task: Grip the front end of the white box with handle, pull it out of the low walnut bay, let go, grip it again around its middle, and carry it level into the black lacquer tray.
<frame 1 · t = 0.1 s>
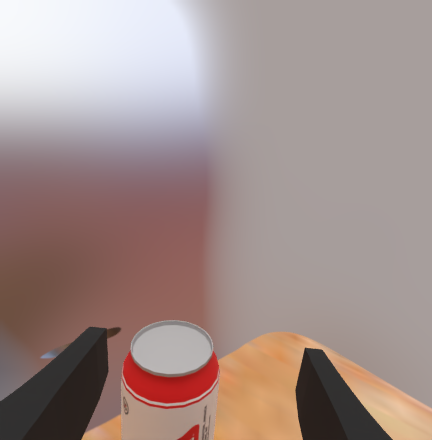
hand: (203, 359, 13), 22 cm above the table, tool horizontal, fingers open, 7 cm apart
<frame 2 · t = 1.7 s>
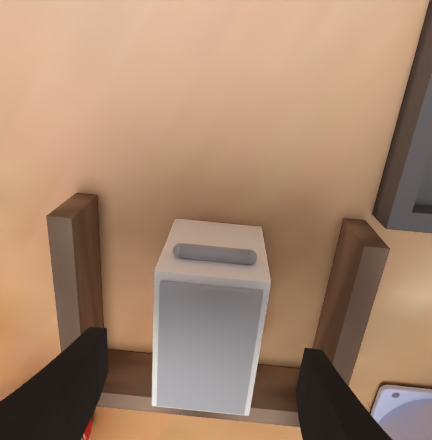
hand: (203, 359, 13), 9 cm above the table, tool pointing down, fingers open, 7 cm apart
bay: (212, 290, 22), on the table
white box with handle: (213, 280, 22), on the table
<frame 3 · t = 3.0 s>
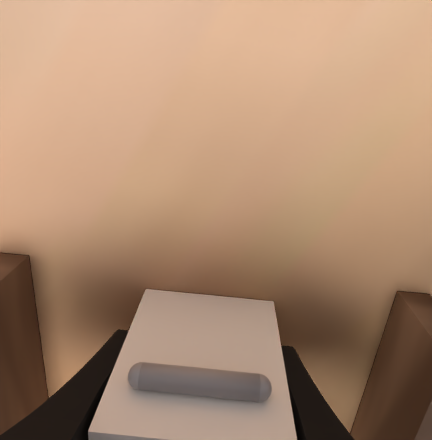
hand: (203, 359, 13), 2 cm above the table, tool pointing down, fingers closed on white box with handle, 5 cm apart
bay: (202, 383, 16), on the table
white box with handle: (202, 372, 16), on the table, touching gripper
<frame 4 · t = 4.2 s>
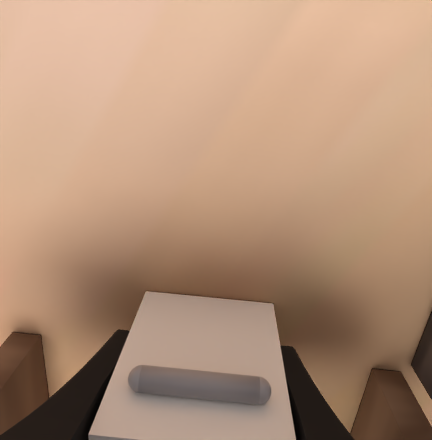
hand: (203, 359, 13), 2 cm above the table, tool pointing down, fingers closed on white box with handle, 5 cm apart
white box with handle: (202, 374, 16), on the table, touching gripper
when the fingers open (2 cm above the table, at t = 5.8 s): white box with handle stays where it is, on the table.
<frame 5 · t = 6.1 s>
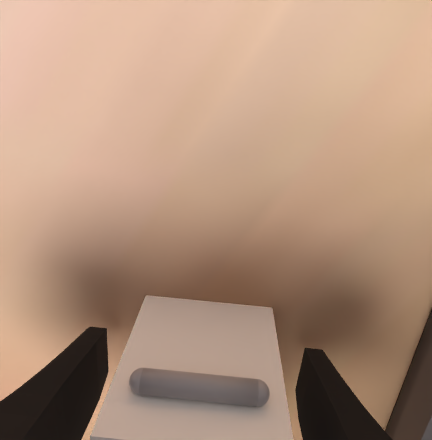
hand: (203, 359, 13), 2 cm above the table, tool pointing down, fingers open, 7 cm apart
white box with handle: (202, 375, 16), on the table
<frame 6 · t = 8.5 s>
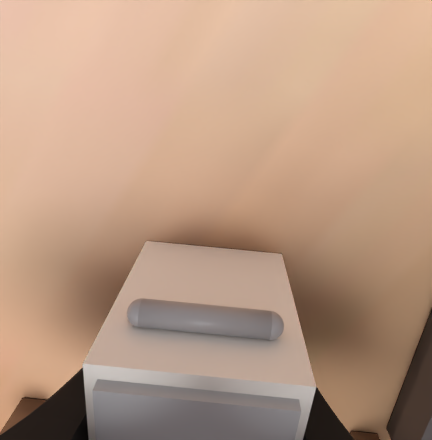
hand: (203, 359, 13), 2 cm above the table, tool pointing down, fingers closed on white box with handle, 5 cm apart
white box with handle: (206, 334, 15), on the table, touching gripper
when the fingers open (3 cm above the table, at t = 13.1 s): white box with handle stays where it is, resting on tray.
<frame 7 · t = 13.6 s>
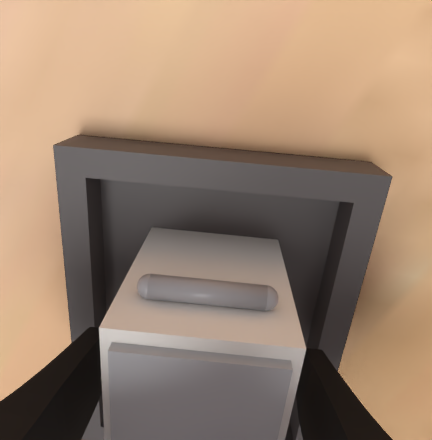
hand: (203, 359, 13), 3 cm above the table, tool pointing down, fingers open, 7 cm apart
tray: (209, 303, 16), on the table
white box with handle: (207, 316, 16), point 1 cm above the table, touching tray
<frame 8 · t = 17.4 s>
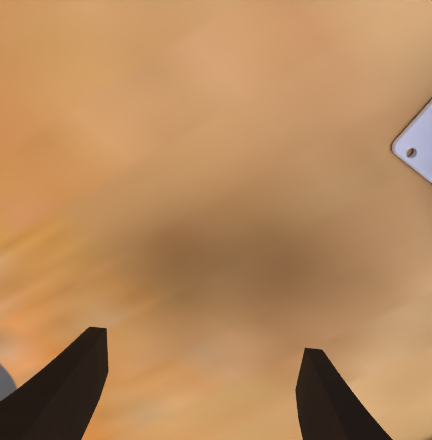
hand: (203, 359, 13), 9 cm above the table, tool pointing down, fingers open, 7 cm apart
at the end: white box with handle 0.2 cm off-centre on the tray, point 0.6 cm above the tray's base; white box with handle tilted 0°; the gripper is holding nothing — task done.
